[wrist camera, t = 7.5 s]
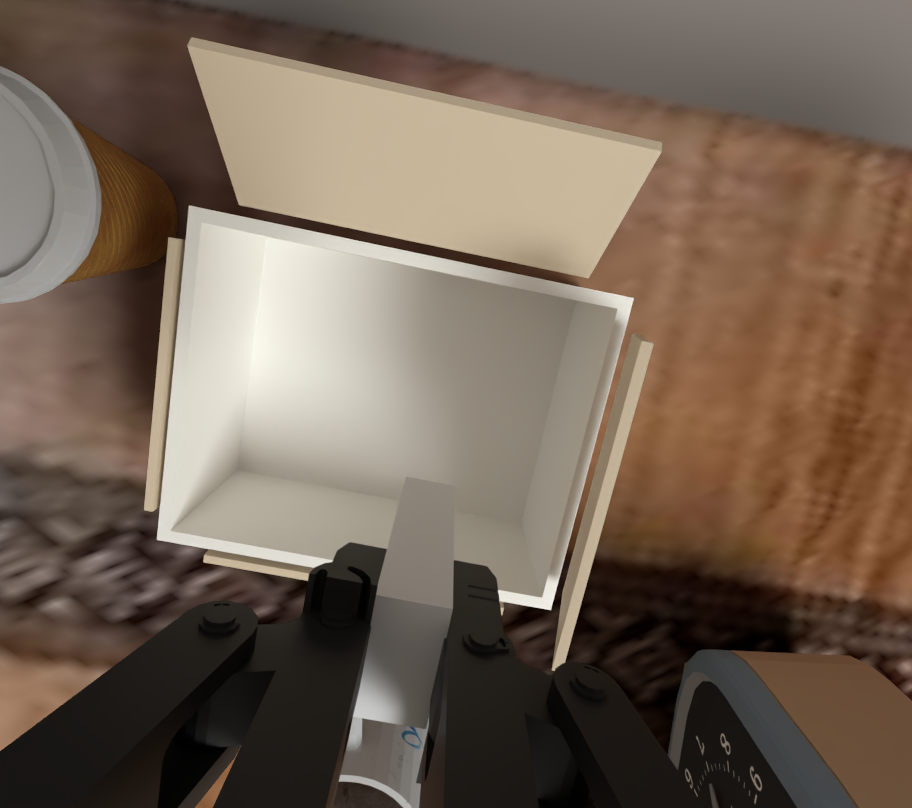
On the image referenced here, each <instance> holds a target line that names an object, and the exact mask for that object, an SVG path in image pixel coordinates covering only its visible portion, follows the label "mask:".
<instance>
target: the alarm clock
mask: <svg viewBox="0 0 912 808" xmlns="http://www.w3.org/2000/svg"><path fill="white" fill-rule="evenodd" d="M668 757H669V758H670V759H671V761H672V762H673V764H674V765H675V767H676V768H677V770H678V771H679V772H680V774H681V775H682V777H683V778H684V780H685V781H686V783H687V784H688V786H689V787H690V788H691V790H692V791H693V793H694V794H695V796H696V797H697V799H698V800H699V801H700V803H701V804H702V806H703V807H704V808H912V701H911V700H910V699H909V698H908V697H907V696H906V695H904V694H903V693H902V692H901V691H900V690H899V689H898V688H897V687H896V686H895V685H894V684H893V683H891V682H890V681H889V680H888V679H887V678H885V677H884V676H883V675H881V674H880V673H879V672H878V671H876V670H875V669H874V668H873V667H871V666H870V665H868V664H866V663H864V662H862V661H860V660H857V659H855V658H853V657H851V656H842V655H820V654H798V653H777V652H755V651H734V650H700V651H697V652H696V653H695V654H694V655H693V657H692V658H691V659H690V660H689V661H688V662H685V665H684V671H683V677H682V681H681V684H680V688H679V691H678V695H677V700H676V706H675V712H674V719H673V725H672V731H671V737H670V743H669V749H668Z"/></svg>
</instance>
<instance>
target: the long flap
mask: <svg viewBox="0 0 912 808" xmlns="http://www.w3.org/2000/svg"><path fill="white" fill-rule="evenodd" d="M187 47H188V50H189V53H190V56H191V59H192V62H193V65H194V68H195V71H196V74H197V78H198V81H199V84H200V87H201V90H202V93H203V96H204V99H205V102H206V105H207V108H208V111H209V114H210V118H211V121H212V124H213V127H214V130H215V133H216V136H217V139H218V142H219V145H220V148H221V151H222V154H223V157H224V161H225V164H226V167H227V170H228V173H229V176H230V179H231V182H232V185H233V188H234V191H235V194H236V197H237V201H238V204H239V205H241V206H246V207H251V208H256V209H260V210H265V211H270V212H275V213H279V214H284V215H289V216H294V217H298V218H303V219H308V220H313V221H318V222H322V223H327V224H332V225H337V226H341V227H346V228H351V229H356V230H360V231H365V232H370V233H375V234H379V235H384V236H389V237H394V238H399V239H403V240H408V241H413V242H418V243H422V244H427V245H432V246H437V247H441V248H446V249H451V250H456V251H460V252H465V253H470V254H475V255H480V256H484V257H489V258H494V259H499V260H503V261H508V262H513V263H518V264H522V265H527V266H532V267H537V268H541V269H546V270H551V271H556V272H561V273H565V274H570V275H575V276H580V277H584V278H589V277H590V275H591V273H592V272H593V270H594V268H595V266H596V265H597V263H598V261H599V259H600V258H601V256H602V254H603V252H604V251H605V249H606V247H607V245H608V244H609V242H610V240H611V238H612V237H613V235H614V233H615V232H616V230H617V228H618V226H619V225H620V223H621V221H622V219H623V218H624V216H625V214H626V212H627V211H628V209H629V207H630V205H631V204H632V202H633V200H634V199H635V197H636V195H637V193H638V192H639V190H640V188H641V186H642V185H643V183H644V181H645V179H646V178H647V176H648V174H649V172H650V171H651V169H652V167H653V166H654V164H655V162H656V160H657V159H658V157H659V155H660V153H661V152H662V142H658V141H653V140H649V139H644V138H640V137H635V136H631V135H626V134H622V133H617V132H613V131H609V130H604V129H600V128H595V127H591V126H586V125H582V124H577V123H573V122H568V121H564V120H559V119H555V118H550V117H546V116H542V115H537V114H533V113H528V112H524V111H519V110H515V109H510V108H506V107H501V106H497V105H492V104H488V103H483V102H479V101H475V100H470V99H466V98H461V97H457V96H452V95H448V94H443V93H439V92H434V91H430V90H425V89H421V88H416V87H412V86H408V85H403V84H399V83H394V82H390V81H385V80H381V79H376V78H372V77H367V76H363V75H358V74H354V73H349V72H345V71H341V70H336V69H332V68H327V67H323V66H318V65H314V64H309V63H305V62H300V61H296V60H291V59H287V58H282V57H278V56H274V55H269V54H265V53H260V52H256V51H251V50H247V49H242V48H238V47H233V46H229V45H224V44H220V43H215V42H211V41H207V40H202V39H198V38H193V37H191V39H190V41H189V43H188V45H187Z"/></svg>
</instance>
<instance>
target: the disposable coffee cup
mask: <svg viewBox="0 0 912 808" xmlns="http://www.w3.org/2000/svg"><path fill="white" fill-rule="evenodd" d="M177 227H178V213H177V207H176V203H175V200H174V197H173V195H172V193H171V191H170V189H169V187H168V186H167V185H166V183H165V182H164V180H163V179H162V178H161V177H160V176H159V175H158V174H157V173H155V172H154V171H153V170H152V169H151V168H149V167H147V166H146V165H144V164H143V163H141V162H139V161H138V160H136V159H135V158H133V157H131V156H130V155H128V154H127V153H125V152H124V151H122V150H120V149H119V148H117V147H116V146H114V145H113V144H111V143H109V142H108V141H106V140H105V139H103V138H102V137H100V136H99V135H97V134H95V133H94V132H92V131H91V130H89V129H88V128H86V127H84V126H83V125H81V124H80V123H78V122H76V121H75V120H73V119H72V118H70V117H68V116H67V115H66V114H65V113H64V112H63V111H62V110H61V109H60V108H59V107H58V105H57V104H56V103H55V102H54V101H53V100H52V99H51V98H50V97H49V96H48V95H47V94H46V93H44V92H43V91H42V90H40V89H39V88H38V87H37V86H35V85H34V84H33V83H31V82H30V81H28V80H27V79H25V78H24V77H22V76H20V75H18V74H16V73H14V72H12V71H10V70H8V69H6V68H4V67H2V66H0V303H12V302H19V301H25V300H30V299H32V298H35V297H37V296H39V295H42V294H44V293H47V292H49V291H51V290H53V289H54V288H55V287H57V286H58V285H60V284H64V283H68V282H73V281H79V280H83V279H87V278H92V277H97V276H102V275H106V274H111V273H115V272H120V271H125V270H130V269H135V268H141V267H146V266H148V265H150V264H152V263H154V262H156V261H158V260H159V259H160V258H162V257H163V256H164V255H165V253H166V252H167V247H168V237H171V238H175V236H176V233H177Z"/></svg>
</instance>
